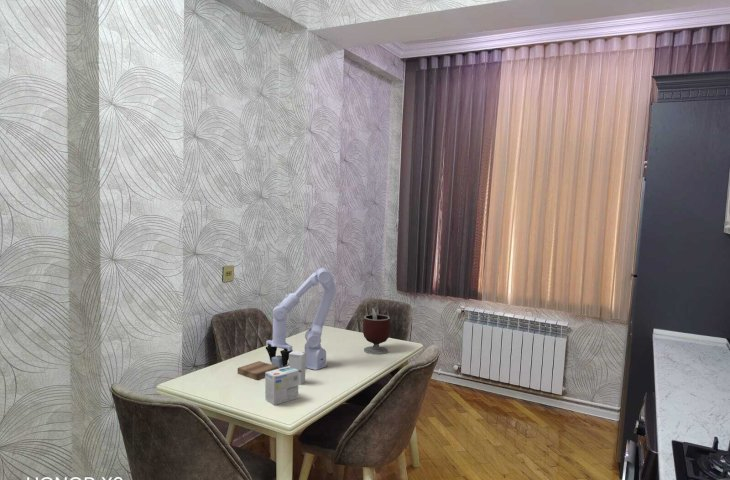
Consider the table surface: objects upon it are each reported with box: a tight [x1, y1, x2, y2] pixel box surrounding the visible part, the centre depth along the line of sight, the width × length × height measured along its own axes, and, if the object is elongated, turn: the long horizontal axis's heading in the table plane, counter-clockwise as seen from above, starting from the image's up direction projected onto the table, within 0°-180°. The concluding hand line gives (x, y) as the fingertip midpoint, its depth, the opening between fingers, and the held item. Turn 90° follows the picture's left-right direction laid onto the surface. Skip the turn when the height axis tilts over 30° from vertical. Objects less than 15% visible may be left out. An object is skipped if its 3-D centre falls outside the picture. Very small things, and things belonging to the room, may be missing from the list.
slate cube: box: [271, 354, 287, 369], centre depth 211 cm, size 4×4×4 cm
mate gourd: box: [362, 307, 391, 356], centre depth 239 cm, size 16×14×20 cm
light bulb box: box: [264, 365, 299, 406], centre depth 175 cm, size 11×7×11 cm, turn 133°
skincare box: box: [288, 350, 307, 385], centre depth 193 cm, size 6×4×12 cm
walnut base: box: [237, 360, 278, 381], centre depth 202 cm, size 12×12×3 cm
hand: (278, 363), depth 211 cm, fingers open, 7 cm apart
